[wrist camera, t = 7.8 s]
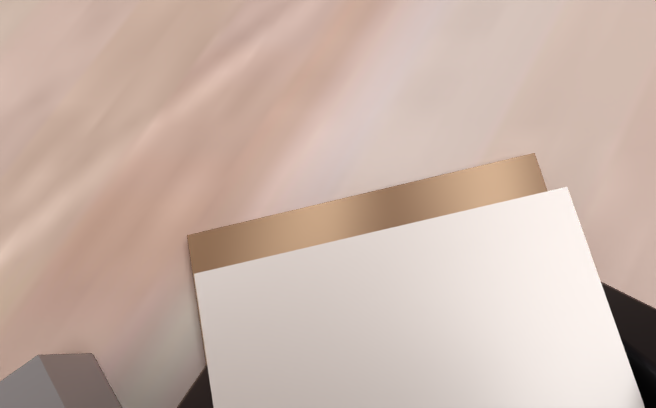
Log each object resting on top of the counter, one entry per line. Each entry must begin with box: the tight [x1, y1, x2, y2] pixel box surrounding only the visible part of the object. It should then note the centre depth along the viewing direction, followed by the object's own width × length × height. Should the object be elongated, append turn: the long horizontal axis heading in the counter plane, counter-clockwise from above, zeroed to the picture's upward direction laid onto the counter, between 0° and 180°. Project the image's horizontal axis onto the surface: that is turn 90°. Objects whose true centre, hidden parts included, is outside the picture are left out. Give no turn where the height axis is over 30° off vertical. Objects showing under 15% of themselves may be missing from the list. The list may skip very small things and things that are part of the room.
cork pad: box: [187, 153, 547, 365], centre depth 17 cm, size 12×12×1 cm
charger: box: [194, 187, 645, 408], centre depth 11 cm, size 5×5×9 cm
